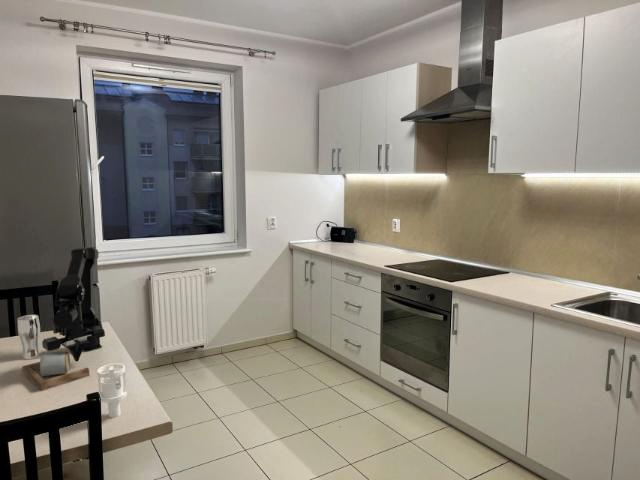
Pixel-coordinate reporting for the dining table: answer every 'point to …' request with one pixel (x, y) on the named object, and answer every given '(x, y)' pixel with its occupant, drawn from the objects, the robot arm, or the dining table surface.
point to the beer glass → (29, 336)
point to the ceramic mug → (54, 363)
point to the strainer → (112, 387)
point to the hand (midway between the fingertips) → (76, 361)
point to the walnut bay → (53, 382)
